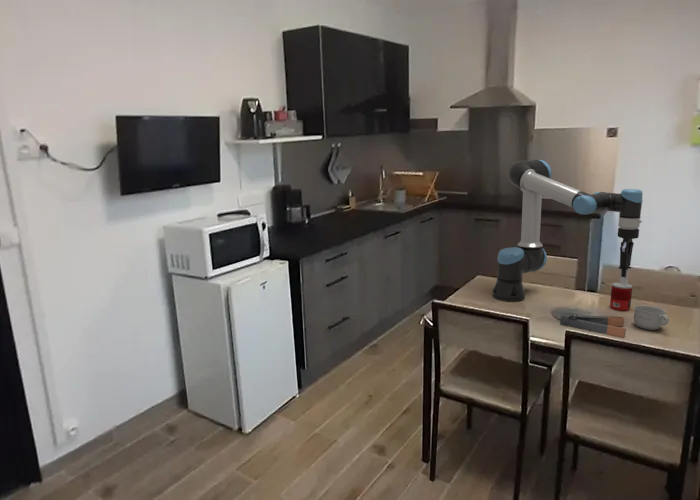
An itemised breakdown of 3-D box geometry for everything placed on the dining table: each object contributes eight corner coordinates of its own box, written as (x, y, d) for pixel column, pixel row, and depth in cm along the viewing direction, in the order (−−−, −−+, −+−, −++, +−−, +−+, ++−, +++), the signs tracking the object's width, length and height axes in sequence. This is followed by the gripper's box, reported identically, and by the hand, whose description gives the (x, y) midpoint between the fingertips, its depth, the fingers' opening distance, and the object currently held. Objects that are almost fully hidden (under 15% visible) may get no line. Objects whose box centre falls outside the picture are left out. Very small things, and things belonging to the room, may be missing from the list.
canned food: (632, 311, 221) (635, 287, 219) (612, 310, 223) (615, 286, 221) (626, 306, 229) (629, 282, 226) (607, 305, 230) (609, 282, 228)
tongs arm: (571, 325, 206) (572, 315, 205) (569, 322, 210) (569, 312, 209) (624, 327, 203) (625, 317, 202) (621, 324, 207) (622, 314, 206)
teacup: (626, 323, 209) (628, 304, 207) (651, 321, 209) (653, 303, 208) (649, 336, 195) (651, 316, 193) (675, 334, 196) (678, 315, 194)
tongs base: (560, 324, 208) (560, 315, 207) (564, 320, 212) (565, 312, 211) (623, 337, 193) (624, 328, 193) (626, 333, 198) (627, 324, 197)
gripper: (635, 231, 197) (629, 289, 202) (642, 226, 207) (636, 282, 212) (614, 229, 202) (609, 286, 207) (622, 224, 212) (617, 279, 217)
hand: (623, 284), depth 209 cm, fingers closed
